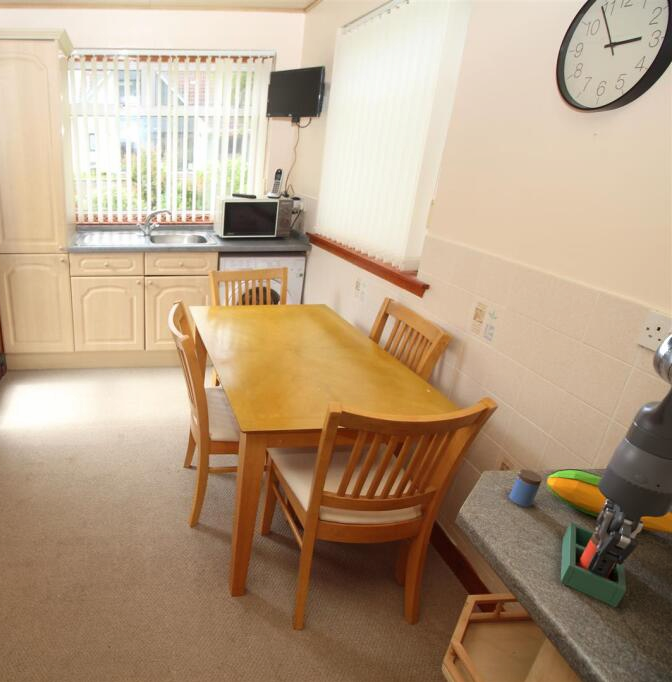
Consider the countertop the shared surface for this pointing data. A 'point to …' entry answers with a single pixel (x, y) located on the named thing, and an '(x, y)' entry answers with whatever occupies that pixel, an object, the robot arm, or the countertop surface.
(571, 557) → the caddy
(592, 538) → the red pot
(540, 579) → the countertop surface
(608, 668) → the countertop surface
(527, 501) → the blue and brown cylinder
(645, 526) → the corn
